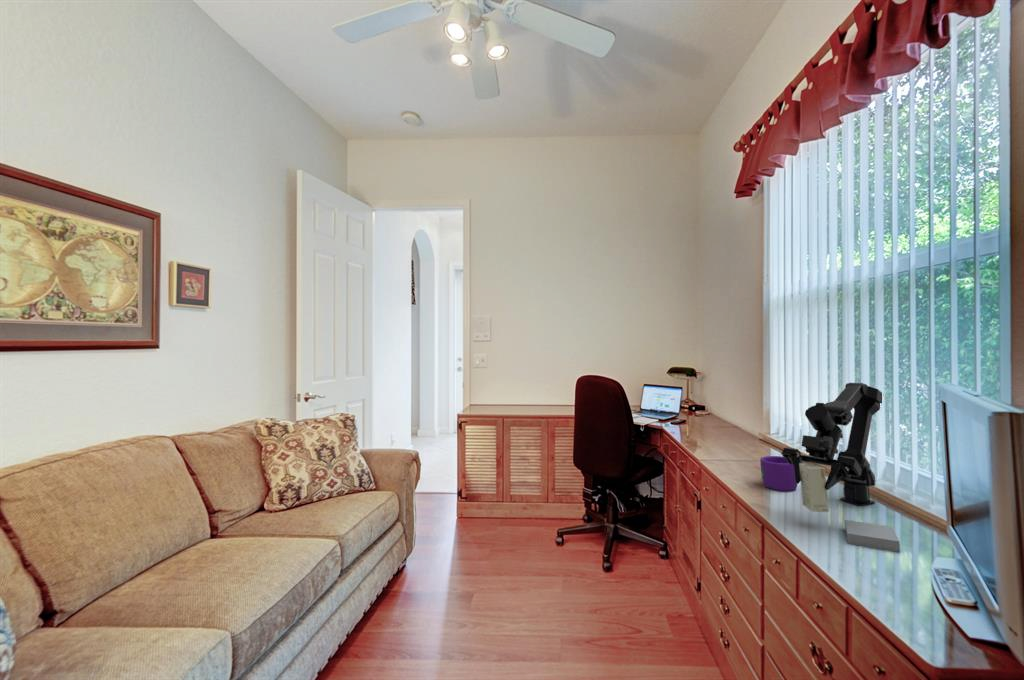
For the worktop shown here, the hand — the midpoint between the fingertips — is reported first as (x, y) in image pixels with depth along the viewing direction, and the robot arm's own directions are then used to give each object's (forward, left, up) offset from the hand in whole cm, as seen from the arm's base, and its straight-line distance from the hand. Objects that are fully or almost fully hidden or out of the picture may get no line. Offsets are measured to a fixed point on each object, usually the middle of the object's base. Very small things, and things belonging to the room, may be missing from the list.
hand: (811, 486), depth 122 cm
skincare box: (-1, 0, -7) cm, 7 cm away
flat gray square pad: (-5, +12, -12) cm, 17 cm away
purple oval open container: (-20, -31, -11) cm, 39 cm away
